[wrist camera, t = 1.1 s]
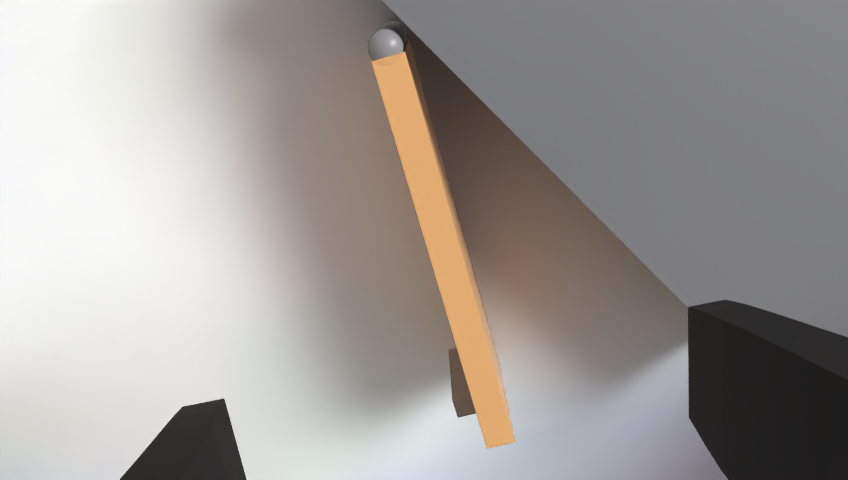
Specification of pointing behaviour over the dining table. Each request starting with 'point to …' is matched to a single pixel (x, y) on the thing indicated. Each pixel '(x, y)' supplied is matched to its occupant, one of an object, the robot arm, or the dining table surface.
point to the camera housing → (680, 130)
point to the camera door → (442, 236)
